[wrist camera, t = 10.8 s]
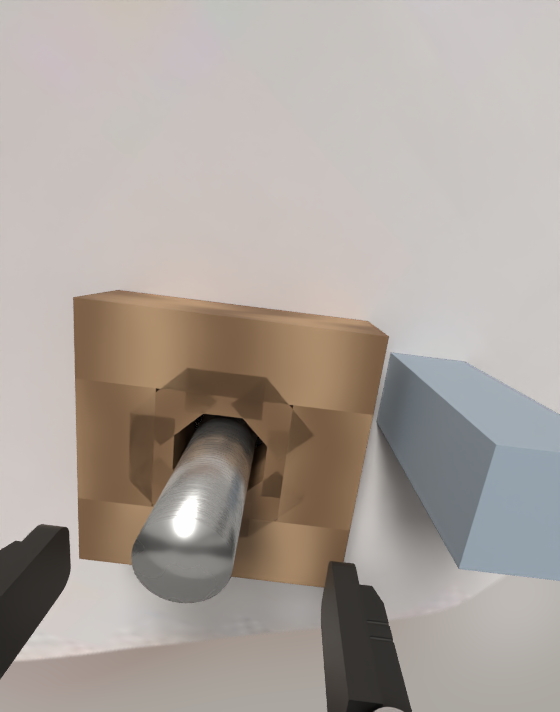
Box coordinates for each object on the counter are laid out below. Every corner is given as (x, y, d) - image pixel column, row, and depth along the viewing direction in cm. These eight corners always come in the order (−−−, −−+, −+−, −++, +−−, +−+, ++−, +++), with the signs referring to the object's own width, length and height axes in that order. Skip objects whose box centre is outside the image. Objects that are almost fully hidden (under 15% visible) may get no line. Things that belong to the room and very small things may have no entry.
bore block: (368, 321, 19) (388, 336, 15) (329, 531, 22) (338, 589, 18) (118, 290, 19) (73, 297, 15) (116, 506, 22) (79, 558, 18)
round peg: (262, 397, 20) (237, 525, 10) (256, 446, 21) (228, 608, 11) (208, 391, 20) (132, 512, 10) (204, 440, 21) (129, 597, 11)
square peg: (465, 361, 19) (646, 463, 9) (447, 430, 20) (594, 585, 10) (390, 352, 19) (496, 444, 9) (376, 421, 20) (458, 569, 10)
